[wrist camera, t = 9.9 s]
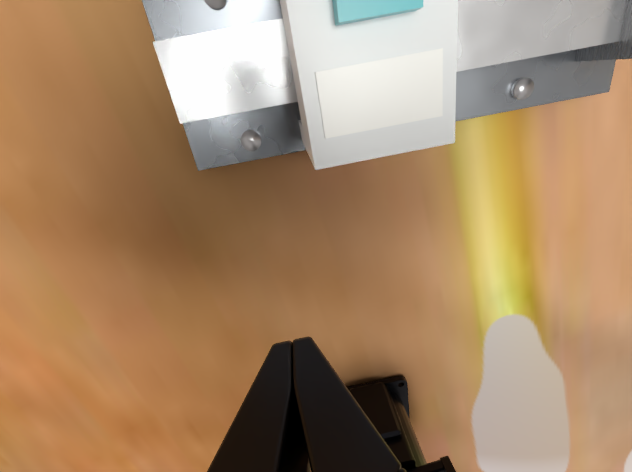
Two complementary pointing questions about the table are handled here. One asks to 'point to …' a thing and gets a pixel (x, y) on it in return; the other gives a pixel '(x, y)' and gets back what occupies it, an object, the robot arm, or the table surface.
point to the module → (372, 76)
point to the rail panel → (287, 116)
